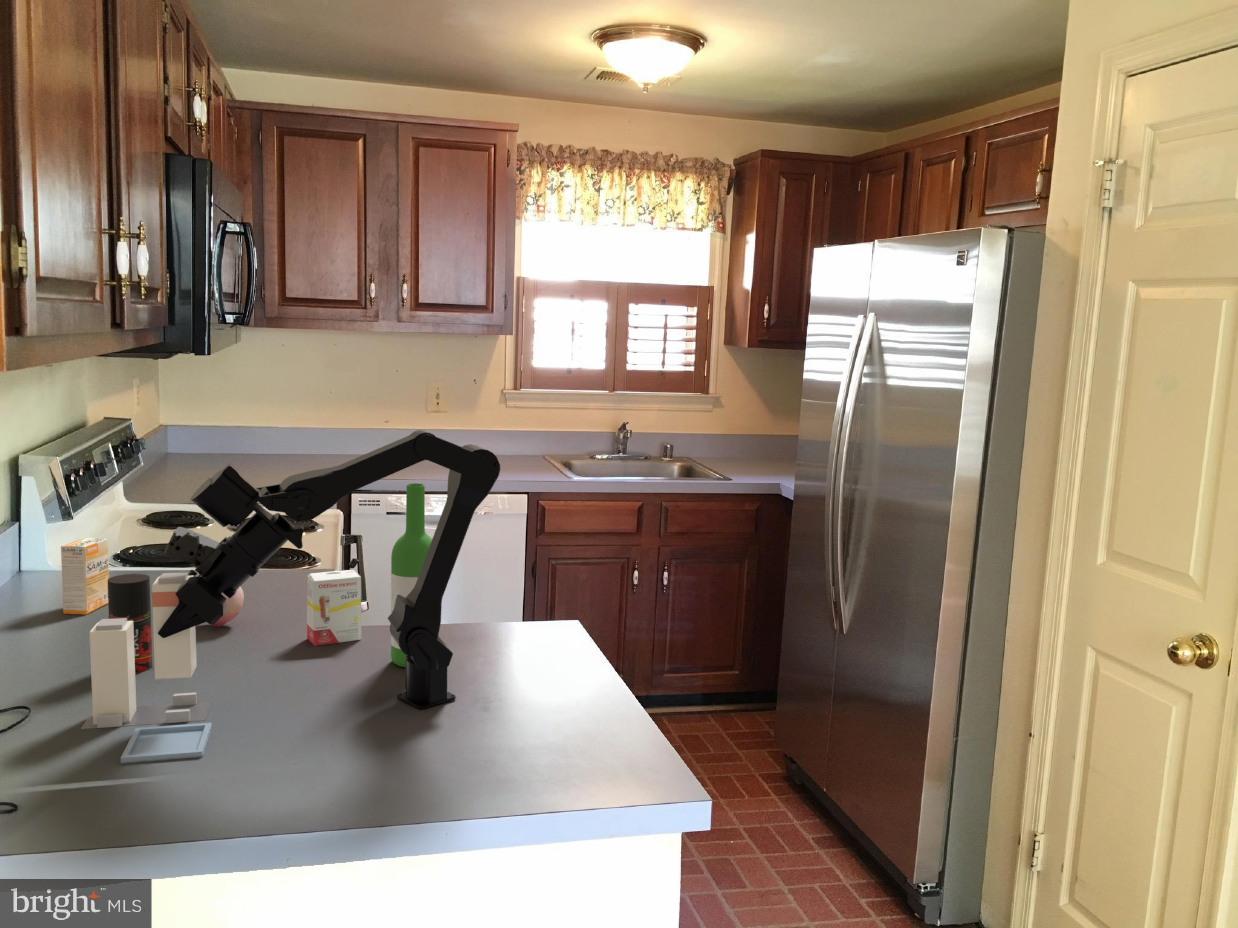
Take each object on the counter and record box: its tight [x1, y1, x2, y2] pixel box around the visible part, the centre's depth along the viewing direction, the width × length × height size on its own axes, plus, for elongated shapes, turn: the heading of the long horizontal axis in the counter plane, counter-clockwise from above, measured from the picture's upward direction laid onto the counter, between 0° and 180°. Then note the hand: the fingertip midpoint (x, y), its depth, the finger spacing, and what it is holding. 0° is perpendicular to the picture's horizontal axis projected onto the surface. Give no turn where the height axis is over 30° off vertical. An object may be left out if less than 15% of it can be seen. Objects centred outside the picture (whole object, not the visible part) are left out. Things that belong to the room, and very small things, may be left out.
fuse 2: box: [151, 572, 197, 680], centre depth 132 cm, size 5×5×14 cm
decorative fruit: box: [212, 586, 245, 628], centre depth 177 cm, size 9×8×10 cm
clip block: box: [80, 692, 212, 730], centre depth 136 cm, size 16×7×2 cm, turn 106°
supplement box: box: [60, 537, 110, 616], centre depth 185 cm, size 8×5×13 cm, turn 179°
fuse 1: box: [89, 618, 137, 725], centre depth 134 cm, size 4×4×14 cm
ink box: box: [306, 569, 362, 647], centre depth 172 cm, size 9×5×12 cm, turn 120°
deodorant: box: [107, 573, 154, 675], centre depth 153 cm, size 6×6×15 cm
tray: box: [120, 722, 213, 765], centre depth 127 cm, size 9×9×1 cm
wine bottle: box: [390, 482, 433, 668], centre depth 161 cm, size 8×8×30 cm
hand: (163, 630), depth 132 cm, fingers closed on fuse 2, 4 cm apart
